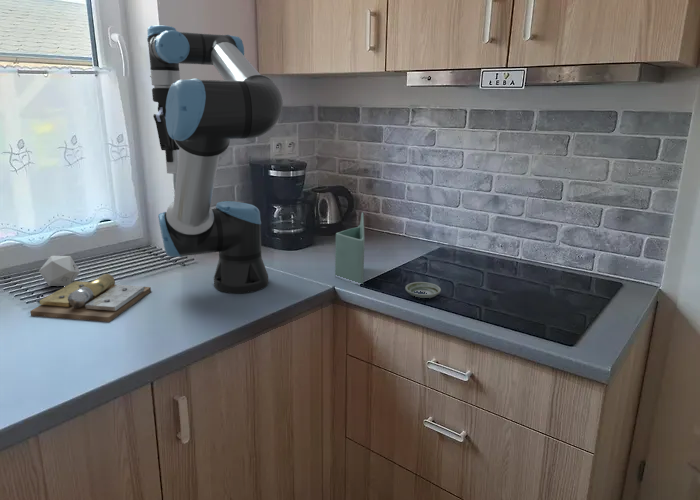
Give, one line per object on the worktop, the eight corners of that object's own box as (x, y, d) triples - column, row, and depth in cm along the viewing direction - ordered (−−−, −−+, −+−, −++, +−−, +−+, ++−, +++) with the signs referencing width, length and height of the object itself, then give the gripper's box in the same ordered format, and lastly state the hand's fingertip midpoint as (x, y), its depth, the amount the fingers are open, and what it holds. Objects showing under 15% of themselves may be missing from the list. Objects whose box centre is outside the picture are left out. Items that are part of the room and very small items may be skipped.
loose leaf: (117, 287, 141) (115, 273, 140) (85, 308, 128) (83, 292, 126) (75, 284, 142) (73, 270, 141) (39, 304, 129) (37, 289, 128)
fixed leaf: (144, 290, 140) (143, 275, 138) (115, 310, 126) (113, 295, 125) (102, 287, 141) (100, 272, 140) (69, 307, 128) (67, 291, 127)
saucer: (399, 290, 148) (400, 282, 147) (431, 288, 150) (432, 280, 150) (412, 304, 139) (412, 295, 138) (446, 301, 142) (446, 292, 141)
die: (54, 295, 140) (76, 264, 141) (26, 277, 140) (48, 246, 141) (70, 295, 149) (91, 265, 149) (44, 278, 149) (64, 248, 150)
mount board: (150, 291, 143) (150, 287, 143) (109, 321, 124) (108, 317, 124) (82, 286, 145) (81, 282, 145) (30, 315, 126) (30, 310, 126)
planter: (334, 267, 165) (335, 206, 160) (360, 268, 166) (361, 206, 160) (335, 286, 150) (336, 218, 144) (363, 286, 150) (365, 219, 144)
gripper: (164, 87, 151) (170, 169, 158) (141, 86, 139) (149, 176, 146) (189, 87, 150) (194, 170, 157) (168, 87, 138) (175, 177, 145)
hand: (172, 173), depth 152 cm, fingers closed
